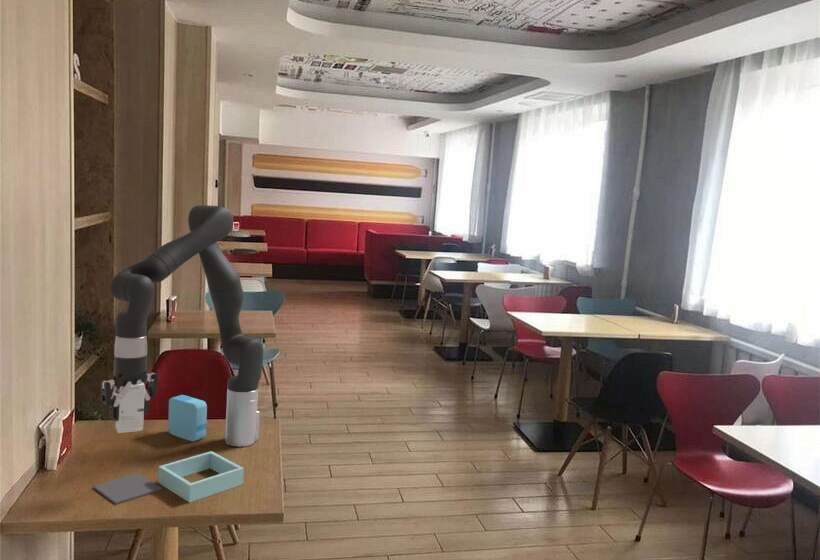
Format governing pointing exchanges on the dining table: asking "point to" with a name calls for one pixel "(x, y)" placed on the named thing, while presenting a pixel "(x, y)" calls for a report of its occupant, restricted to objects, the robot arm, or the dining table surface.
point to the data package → (187, 417)
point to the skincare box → (131, 409)
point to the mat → (127, 488)
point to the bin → (197, 490)
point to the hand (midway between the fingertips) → (129, 416)
